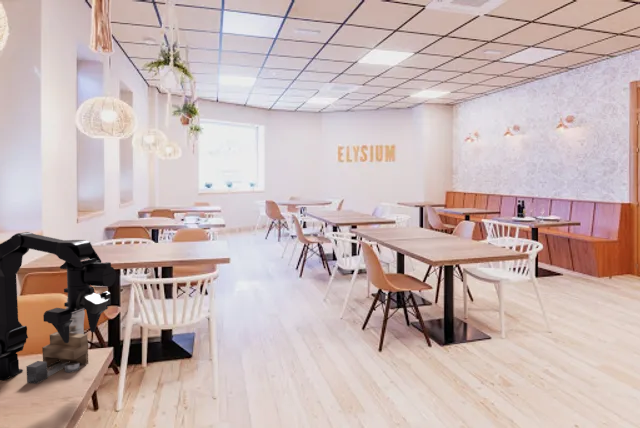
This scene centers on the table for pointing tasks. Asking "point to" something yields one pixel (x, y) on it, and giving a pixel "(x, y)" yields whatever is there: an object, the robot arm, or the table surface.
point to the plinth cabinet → (66, 349)
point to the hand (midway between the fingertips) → (80, 337)
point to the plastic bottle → (77, 322)
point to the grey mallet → (41, 371)
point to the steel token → (72, 367)
